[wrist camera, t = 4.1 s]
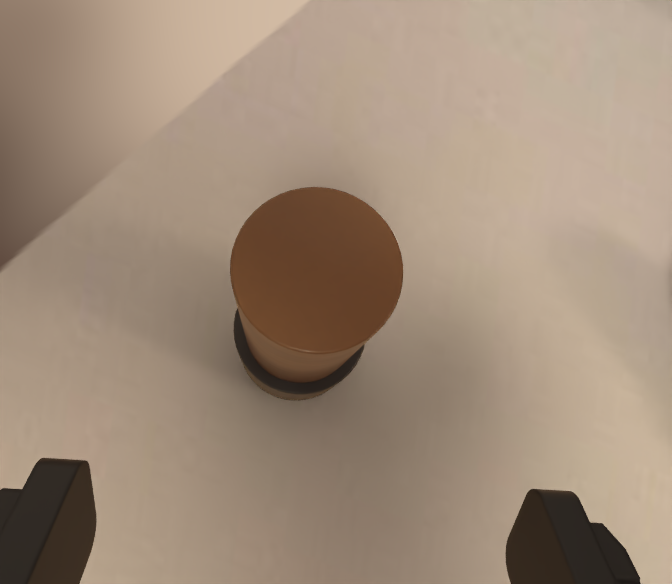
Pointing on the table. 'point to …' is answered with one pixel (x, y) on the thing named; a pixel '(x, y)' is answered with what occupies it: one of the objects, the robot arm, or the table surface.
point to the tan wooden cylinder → (311, 289)
